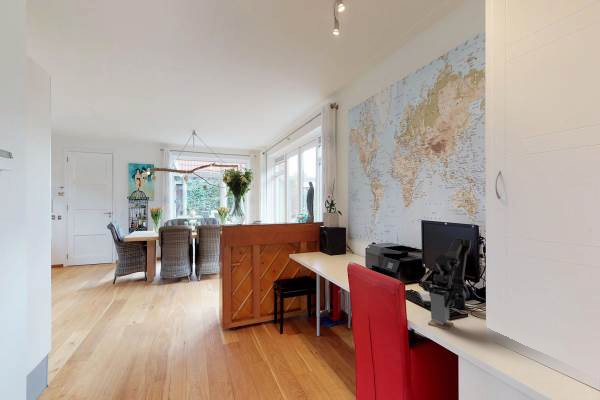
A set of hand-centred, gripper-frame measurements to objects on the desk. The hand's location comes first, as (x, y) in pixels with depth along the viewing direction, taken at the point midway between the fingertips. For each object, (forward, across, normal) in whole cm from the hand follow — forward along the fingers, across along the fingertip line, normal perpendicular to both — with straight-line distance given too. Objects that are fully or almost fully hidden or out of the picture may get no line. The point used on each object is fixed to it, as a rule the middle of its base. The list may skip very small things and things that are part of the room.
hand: (438, 305), depth 123 cm
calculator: (-12, -14, +27) cm, 33 cm away
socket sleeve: (+4, 0, +6) cm, 7 cm away
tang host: (+6, 0, +8) cm, 10 cm away
